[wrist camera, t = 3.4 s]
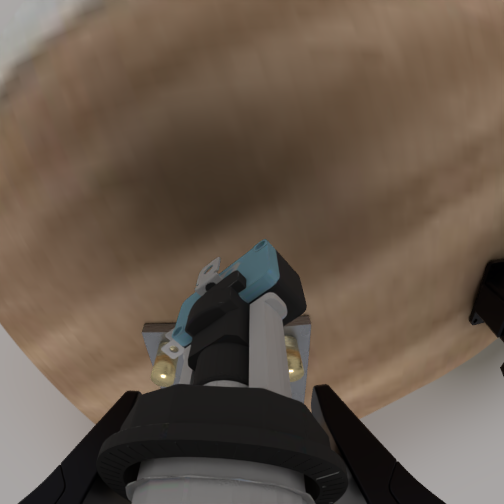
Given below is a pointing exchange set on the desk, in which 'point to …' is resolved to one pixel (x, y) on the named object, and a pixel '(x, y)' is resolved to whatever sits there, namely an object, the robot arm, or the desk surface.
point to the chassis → (170, 369)
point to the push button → (228, 403)
